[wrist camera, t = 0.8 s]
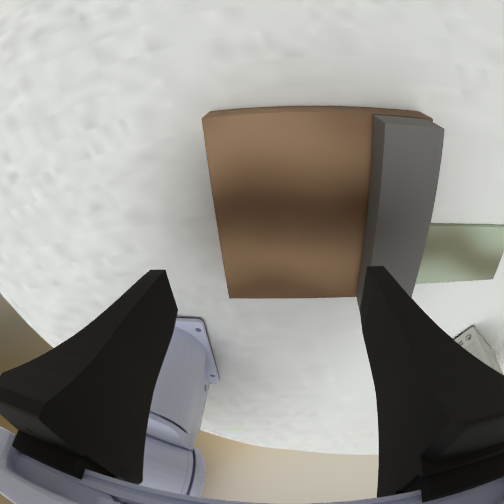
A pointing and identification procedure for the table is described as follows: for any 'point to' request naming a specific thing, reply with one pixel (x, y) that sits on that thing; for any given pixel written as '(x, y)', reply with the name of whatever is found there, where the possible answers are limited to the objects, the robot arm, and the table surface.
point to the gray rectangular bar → (400, 196)
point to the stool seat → (314, 204)
